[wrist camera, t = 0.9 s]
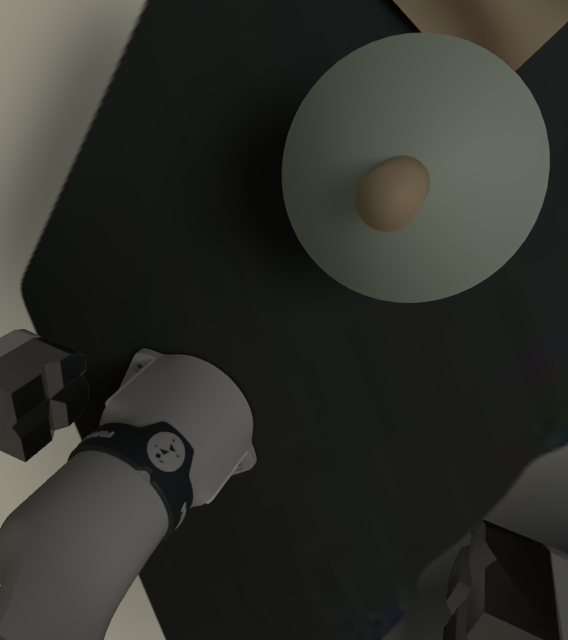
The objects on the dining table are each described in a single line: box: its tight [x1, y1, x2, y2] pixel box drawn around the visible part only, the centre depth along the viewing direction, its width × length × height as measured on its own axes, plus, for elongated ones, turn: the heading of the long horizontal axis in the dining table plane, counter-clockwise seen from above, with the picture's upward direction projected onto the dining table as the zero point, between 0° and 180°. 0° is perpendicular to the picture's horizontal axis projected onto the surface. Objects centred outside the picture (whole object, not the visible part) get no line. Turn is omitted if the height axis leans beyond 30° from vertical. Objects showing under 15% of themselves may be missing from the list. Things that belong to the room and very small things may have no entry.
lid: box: [282, 33, 550, 303], centre depth 24 cm, size 14×14×5 cm
